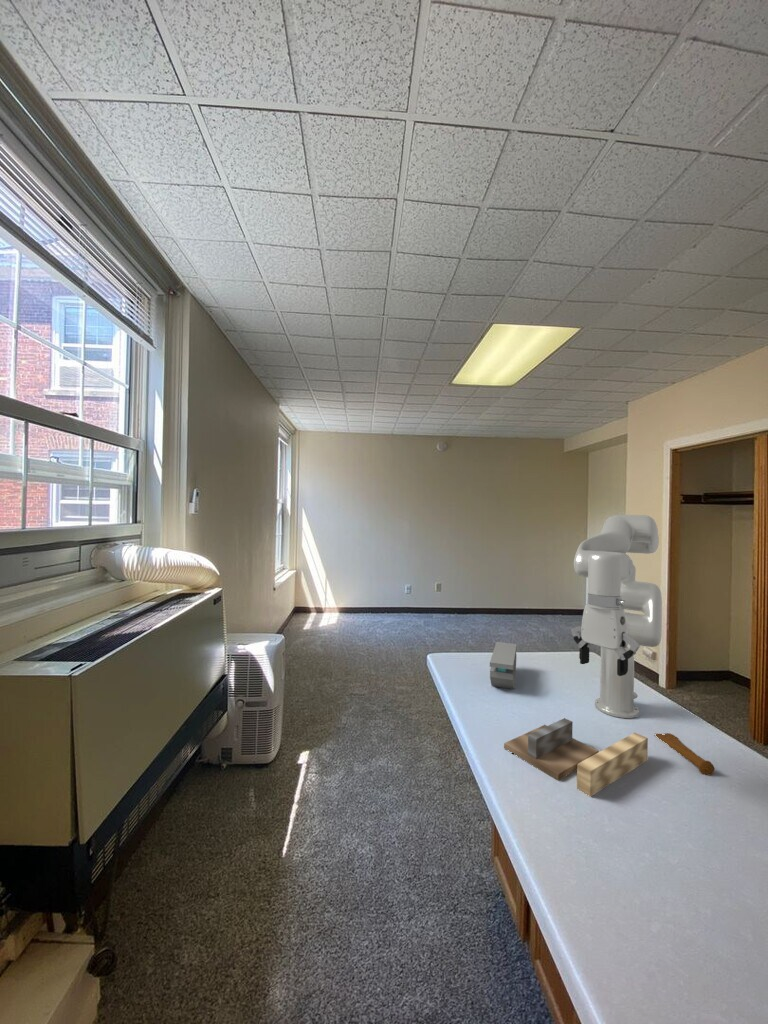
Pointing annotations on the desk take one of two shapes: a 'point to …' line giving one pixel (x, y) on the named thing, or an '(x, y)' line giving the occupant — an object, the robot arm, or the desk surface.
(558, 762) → the stand
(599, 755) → the oak batten
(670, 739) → the primitive tool
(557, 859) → the desk surface
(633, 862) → the desk surface
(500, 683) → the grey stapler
